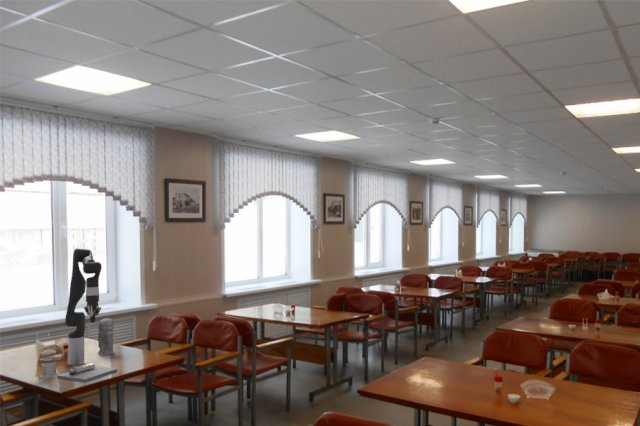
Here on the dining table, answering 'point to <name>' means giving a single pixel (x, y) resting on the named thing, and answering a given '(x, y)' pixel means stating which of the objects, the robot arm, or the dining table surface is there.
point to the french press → (48, 364)
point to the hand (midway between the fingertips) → (92, 322)
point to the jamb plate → (88, 373)
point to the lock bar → (81, 368)
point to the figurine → (105, 337)
